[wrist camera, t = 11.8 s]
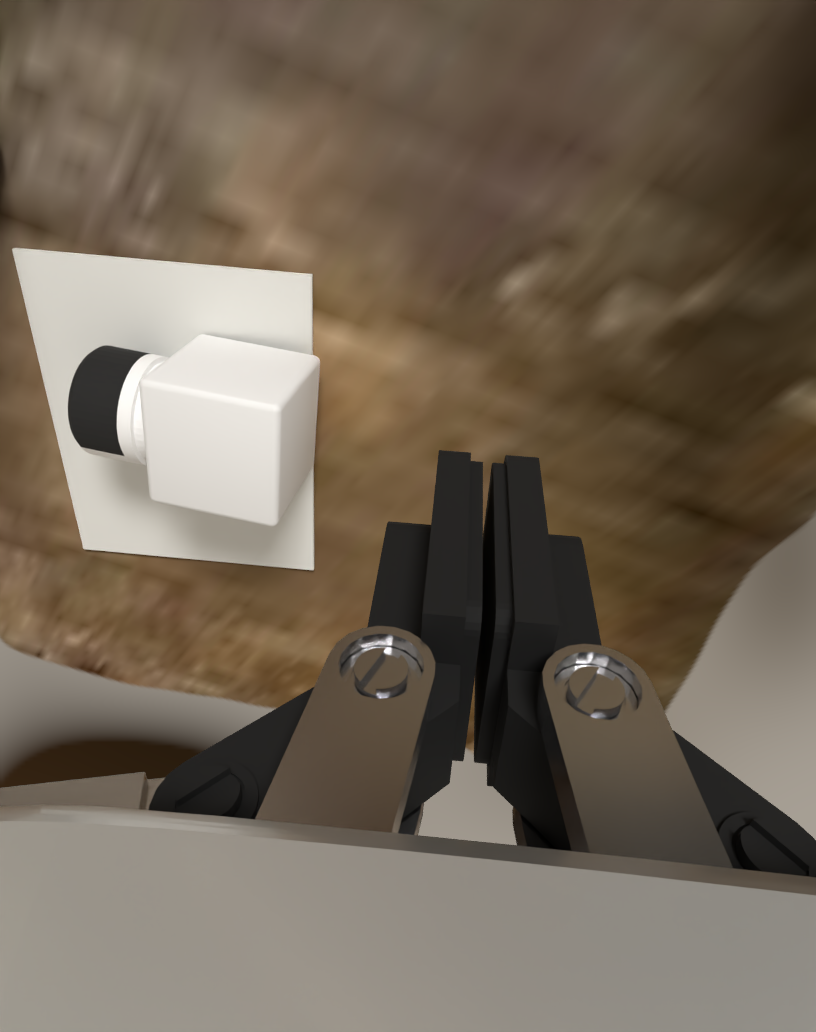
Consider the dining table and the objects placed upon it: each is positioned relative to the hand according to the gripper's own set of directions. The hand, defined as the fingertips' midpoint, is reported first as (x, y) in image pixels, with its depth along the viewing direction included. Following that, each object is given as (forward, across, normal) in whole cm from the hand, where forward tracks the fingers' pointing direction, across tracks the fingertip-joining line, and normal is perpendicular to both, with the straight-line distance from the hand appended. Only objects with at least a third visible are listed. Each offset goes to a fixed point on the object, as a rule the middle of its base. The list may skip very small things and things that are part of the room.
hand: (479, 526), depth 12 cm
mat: (+27, +17, +14) cm, 35 cm away
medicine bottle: (+22, +8, +12) cm, 27 cm away
